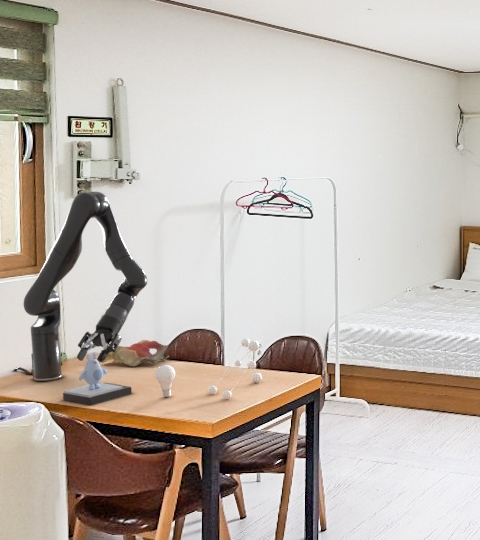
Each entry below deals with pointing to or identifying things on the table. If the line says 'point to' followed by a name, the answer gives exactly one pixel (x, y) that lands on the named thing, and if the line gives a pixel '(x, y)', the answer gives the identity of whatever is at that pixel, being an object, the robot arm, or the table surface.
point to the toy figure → (92, 372)
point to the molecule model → (255, 376)
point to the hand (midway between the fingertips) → (89, 360)
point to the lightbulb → (165, 378)
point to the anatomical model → (138, 353)
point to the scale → (96, 393)
